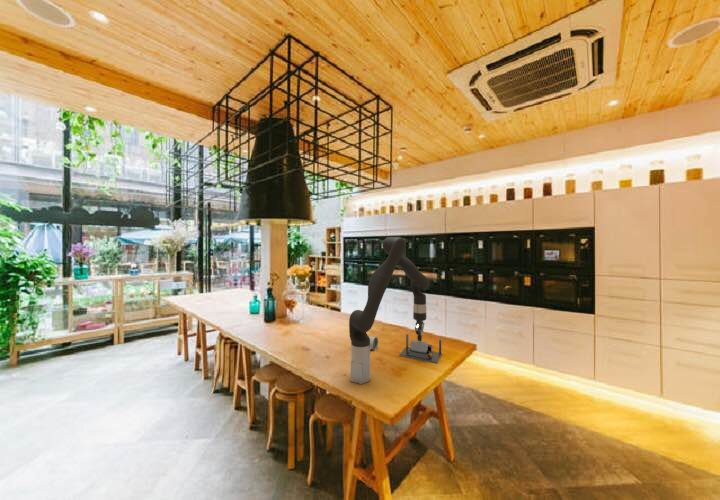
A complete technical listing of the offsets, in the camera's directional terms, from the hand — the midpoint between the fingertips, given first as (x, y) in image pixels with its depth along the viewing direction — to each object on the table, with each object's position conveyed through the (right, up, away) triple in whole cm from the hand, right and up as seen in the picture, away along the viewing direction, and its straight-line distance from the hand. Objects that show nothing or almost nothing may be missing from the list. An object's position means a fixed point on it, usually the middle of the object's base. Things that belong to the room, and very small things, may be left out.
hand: (419, 340), depth 157 cm
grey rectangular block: (0, -9, 0) cm, 9 cm away
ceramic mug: (-29, -10, +13) cm, 33 cm away
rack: (+1, -10, +3) cm, 10 cm away
